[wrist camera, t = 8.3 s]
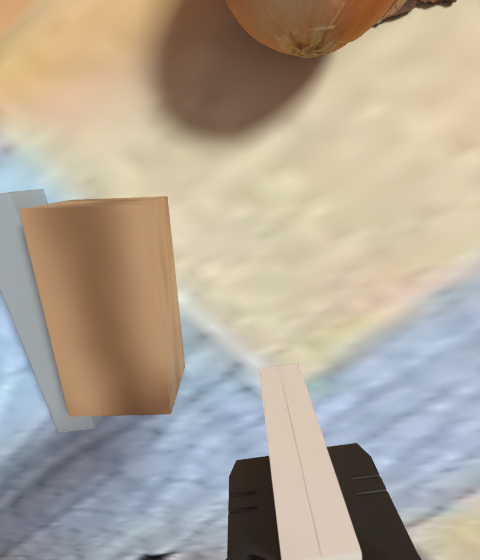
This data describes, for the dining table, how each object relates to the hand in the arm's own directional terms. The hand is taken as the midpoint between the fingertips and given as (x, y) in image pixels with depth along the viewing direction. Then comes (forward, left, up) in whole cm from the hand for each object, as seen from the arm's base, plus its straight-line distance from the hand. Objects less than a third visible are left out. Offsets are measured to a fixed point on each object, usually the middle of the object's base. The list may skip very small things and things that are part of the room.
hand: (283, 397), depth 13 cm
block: (-10, +1, -14) cm, 17 cm away
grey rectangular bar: (-16, 0, -14) cm, 21 cm away
